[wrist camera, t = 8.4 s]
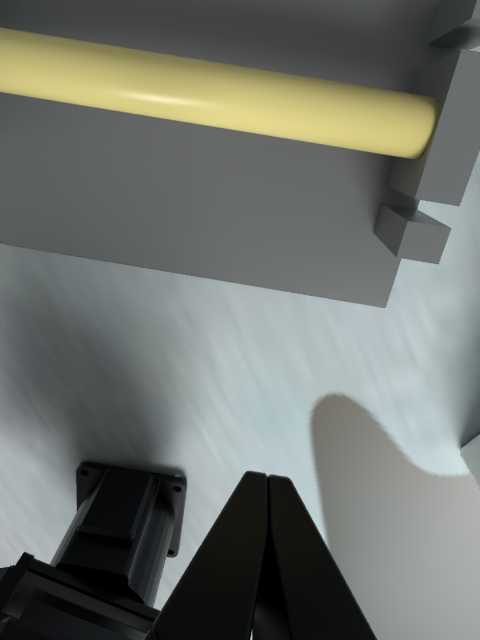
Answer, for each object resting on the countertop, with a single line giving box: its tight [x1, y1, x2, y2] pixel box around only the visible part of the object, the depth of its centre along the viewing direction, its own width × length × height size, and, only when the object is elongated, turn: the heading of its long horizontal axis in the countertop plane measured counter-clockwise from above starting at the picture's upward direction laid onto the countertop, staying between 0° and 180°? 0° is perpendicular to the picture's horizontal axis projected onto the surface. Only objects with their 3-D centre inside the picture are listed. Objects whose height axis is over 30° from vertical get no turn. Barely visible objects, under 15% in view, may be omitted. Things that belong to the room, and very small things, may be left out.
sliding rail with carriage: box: [0, 0, 480, 308], centre depth 14 cm, size 14×26×6 cm, turn 82°
